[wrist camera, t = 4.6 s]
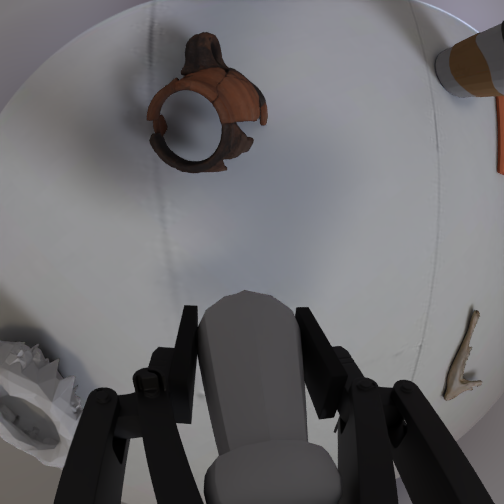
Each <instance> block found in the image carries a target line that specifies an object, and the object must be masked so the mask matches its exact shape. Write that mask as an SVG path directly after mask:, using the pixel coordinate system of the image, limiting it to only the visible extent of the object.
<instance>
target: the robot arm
mask: <svg viewBox="0 0 504 504" xmlns="http://www.w3.org/2000/svg"><path fill="white" fill-rule="evenodd" d="M295 318H296V320H297V323H298V325H299V327H300V331H301V342H302V355H303V368H304V381H305V384H306V386H307V389H308V392H309V394H310V397H311V400H312V402H313V405H314V407H315V410H316V413H317V415H318V418H319V419H326V418H333V417H334V416H335V413H336V411H337V410H338V412H339V415H340V416H339V419H338V422H337V424H336V427H335V429H334V432H335V433H336V431H337V429H338V471H339V473H340V476H341V478H342V485H343V493H344V494H343V496H342V497H341V499H340V501H339V502H338V504H398V496H397V488H396V479H395V472H394V465H393V461H394V463H395V466H396V468H397V470H398V472H399V474H400V477H401V479H402V481H403V483H404V485H405V488H406V490H407V492H408V494H409V497H410V499H411V501H412V503H413V504H495V503H494V502H493V500H492V499H491V497H490V495H489V494H488V492H487V490H486V489H485V487H484V485H483V484H482V482H481V480H480V479H479V477H478V475H477V474H476V472H475V471H474V469H473V467H472V466H471V464H470V463H469V461H468V459H467V458H466V456H465V455H464V453H463V452H462V450H461V449H460V447H459V446H458V444H457V443H456V441H455V439H454V438H453V436H452V435H451V433H450V432H449V431H448V429H447V428H446V426H445V425H444V423H443V422H442V420H441V419H440V417H439V416H438V414H437V413H436V412H435V410H434V409H433V407H432V406H431V404H430V403H429V402H428V400H427V399H426V397H425V396H424V395H423V393H422V392H421V390H420V389H419V388H418V386H417V385H416V384H415V383H413V382H411V381H408V380H399V381H397V382H396V383H395V384H394V386H393V388H387V387H378V385H377V383H376V382H375V381H374V380H372V379H369V378H365V377H364V376H363V374H362V373H361V371H360V369H359V368H358V366H357V365H356V363H354V360H353V359H352V358H351V355H350V354H349V352H348V351H347V350H346V349H344V348H343V347H341V346H335V347H332V346H331V345H330V343H329V341H328V339H327V338H326V336H325V334H324V333H323V331H322V329H321V328H320V326H319V324H318V322H317V321H316V319H315V317H314V316H313V314H312V312H311V311H310V309H309V307H296V314H295ZM197 328H198V307H197V306H190V305H184V309H183V314H182V318H181V322H180V326H179V331H178V335H177V339H176V344H175V348H166V347H158V348H157V349H156V350H155V351H154V352H153V353H152V357H151V360H150V363H149V366H148V368H143V369H140V370H138V371H136V372H135V374H134V375H133V383H134V387H135V392H134V393H131V394H126V395H117V393H116V392H115V391H114V390H112V389H110V388H98V389H95V390H93V391H92V392H91V393H90V394H89V396H88V398H87V401H86V404H85V406H84V409H83V412H82V414H81V417H80V420H79V422H78V425H77V428H76V431H75V434H74V437H73V440H72V442H71V445H70V448H69V452H68V455H67V458H66V461H65V464H64V468H63V471H62V475H61V478H60V481H59V485H58V489H57V492H56V496H55V500H54V504H121V496H122V488H123V481H124V474H125V467H126V461H127V454H128V448H129V443H130V438H138V437H143V443H144V448H145V453H146V458H147V463H148V467H149V472H150V476H151V480H152V484H153V488H154V492H155V496H156V500H157V504H204V503H203V501H202V498H201V496H200V493H199V491H198V488H197V485H196V483H195V480H194V477H193V474H192V472H191V469H190V466H189V463H188V460H187V457H186V454H185V451H184V448H183V445H182V442H181V438H180V435H179V432H178V429H177V425H176V423H184V424H191V421H192V408H193V395H194V384H195V373H196V362H197V346H196V331H197ZM404 420H405V421H404ZM406 423H407V424H406Z"/></svg>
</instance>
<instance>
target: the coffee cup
mask: <svg viewBox="0 0 504 504" xmlns="http://www.w3.org/2000/svg"><path fill="white" fill-rule="evenodd" d="M435 67H436V73H437V76H438V78H439V80H440V82H441V84H442V85H443V87H444V88H445V89H446V90H447V91H448V92H449V93H451V94H452V95H455V96H457V97H459V98H465V97H489V96H504V21H503V22H502V24H499V25H497V26H495V27H493V28H490V29H488V30H486V31H484V32H481V33H477V34H475V35H473V36H471V37H469V38H467V39H465V40H463V41H461V42H459V43H457V44H455V45H454V46H453V47H451V48H449V49H447V50H445V51H443V52H441V53H440V54H439V55H438V57H437V59H436V64H435Z"/></svg>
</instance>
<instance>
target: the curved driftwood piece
mask: <svg viewBox="0 0 504 504" xmlns="http://www.w3.org/2000/svg"><path fill="white" fill-rule="evenodd" d="M479 317H480V313H479V311H478V310H476V311H475V310H474V313H473V315H472V318H471V321H470V325H469V329H468V332H467V334H466V336H465V338H464V340H463V342H462V345H461V347H460V349H459V351H458V353H457V355H456V357H455V359H454V362H453V364H452V366H451V368H450V371H449V374H448V378H447V390H446V393H445V396H444V399H445V400H446V401H447V400H451V399H453V398H455V397H456V396H458V395H459V394H461V393H462V392H464V391H466V390H473V389H472V387H474V386H477V387H478V386H480V385H482V381H481V380H478V381H469V380H466V379H463V375H464V374H463V373H464V368H465V365H466V361H467V360H468V357H469V355H470V351H471V350H472V347H469V342H470V339H471V336H472V333H473V331H474V328H475V326H476V324H477V321H478V319H479Z"/></svg>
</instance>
